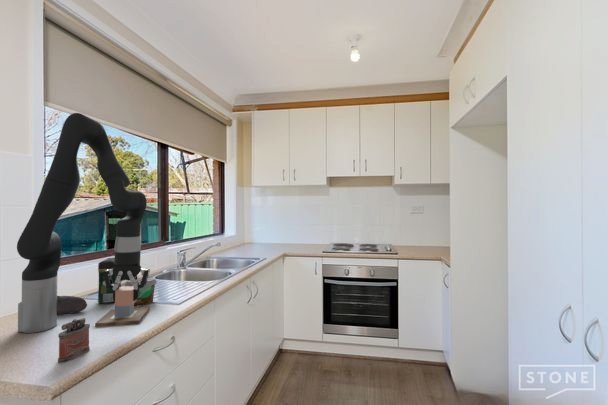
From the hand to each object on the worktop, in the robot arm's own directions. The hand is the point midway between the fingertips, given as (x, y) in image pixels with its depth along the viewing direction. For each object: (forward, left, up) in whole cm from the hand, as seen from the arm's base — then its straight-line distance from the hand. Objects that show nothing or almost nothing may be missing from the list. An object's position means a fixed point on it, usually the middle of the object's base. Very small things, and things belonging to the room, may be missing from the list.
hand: (126, 300), depth 102 cm
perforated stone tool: (-29, +23, -11) cm, 39 cm away
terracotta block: (0, 0, -1) cm, 1 cm away
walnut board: (-5, +13, -10) cm, 18 cm away
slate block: (-5, +13, -9) cm, 17 cm away
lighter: (-9, -15, -11) cm, 20 cm away
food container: (-4, +28, -11) cm, 31 cm away
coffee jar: (-18, +36, -11) cm, 42 cm away
